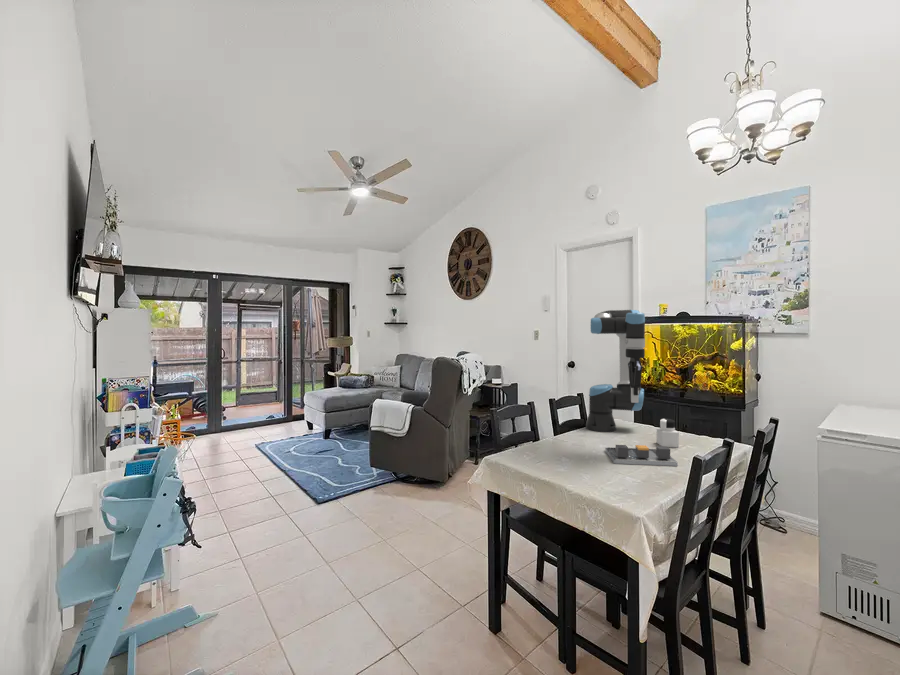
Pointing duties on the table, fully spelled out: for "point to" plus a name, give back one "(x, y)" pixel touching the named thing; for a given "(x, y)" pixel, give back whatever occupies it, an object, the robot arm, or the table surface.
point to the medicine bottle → (667, 434)
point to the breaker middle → (642, 451)
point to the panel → (639, 461)
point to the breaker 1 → (622, 451)
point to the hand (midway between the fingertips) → (634, 402)
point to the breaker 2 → (662, 452)
